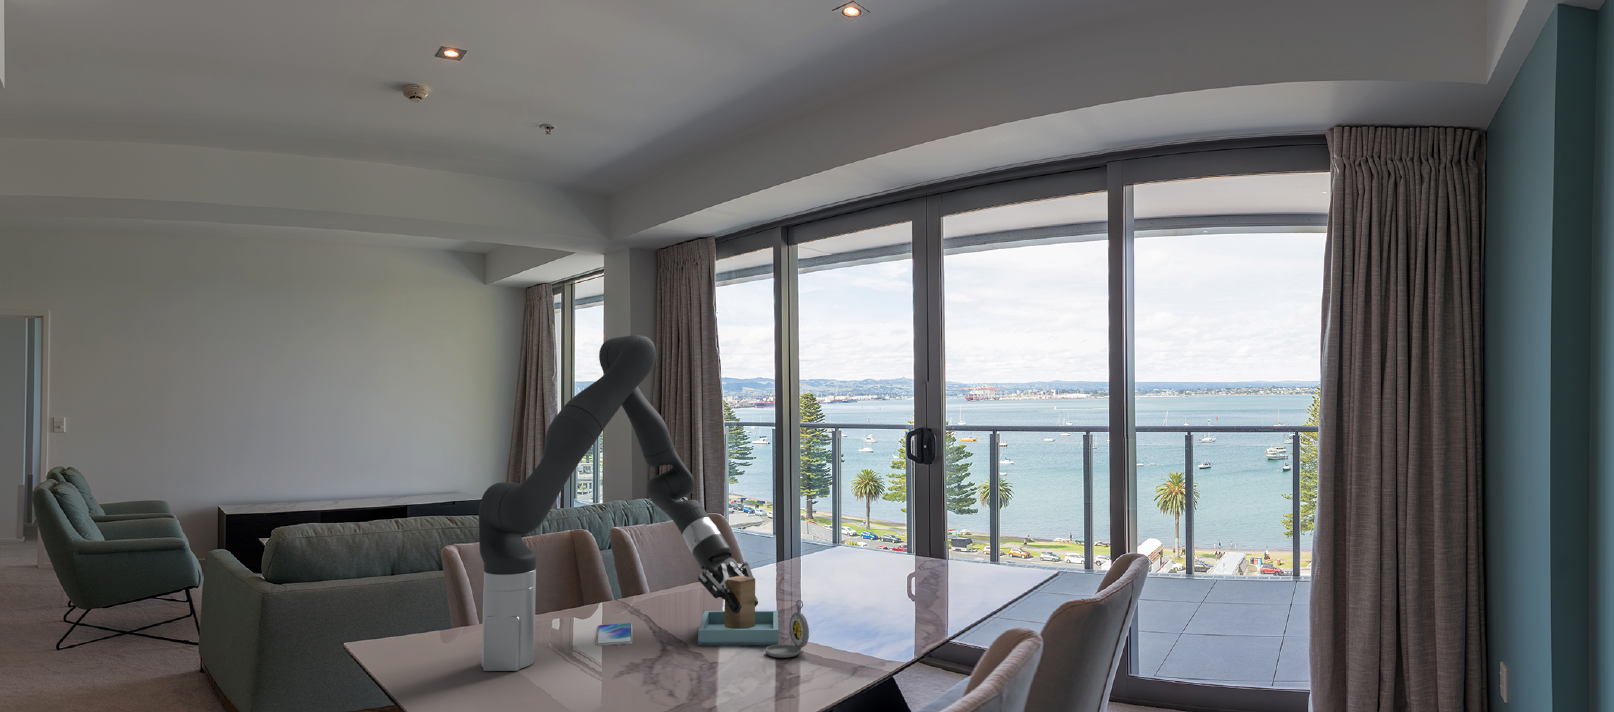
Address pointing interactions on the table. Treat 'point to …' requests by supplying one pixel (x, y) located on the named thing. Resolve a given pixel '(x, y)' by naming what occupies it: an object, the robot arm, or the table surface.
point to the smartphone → (614, 634)
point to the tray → (738, 630)
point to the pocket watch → (793, 637)
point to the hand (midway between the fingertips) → (746, 608)
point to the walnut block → (746, 597)
